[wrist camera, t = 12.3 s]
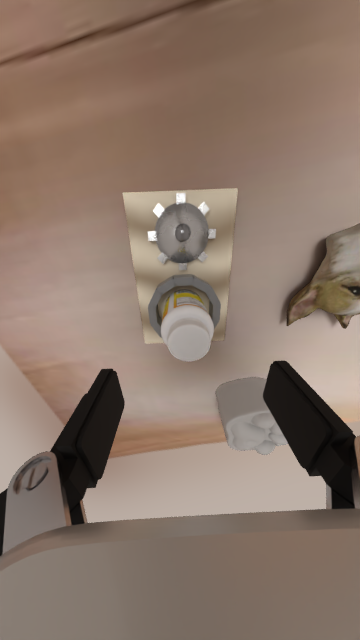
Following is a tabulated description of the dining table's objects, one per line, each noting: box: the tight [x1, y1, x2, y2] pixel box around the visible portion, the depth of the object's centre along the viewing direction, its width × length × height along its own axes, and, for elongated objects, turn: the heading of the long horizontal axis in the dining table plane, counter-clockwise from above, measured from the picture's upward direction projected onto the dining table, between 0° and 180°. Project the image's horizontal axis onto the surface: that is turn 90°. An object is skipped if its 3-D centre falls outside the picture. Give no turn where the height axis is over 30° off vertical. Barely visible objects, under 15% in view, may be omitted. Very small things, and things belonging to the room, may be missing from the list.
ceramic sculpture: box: [287, 223, 360, 329], centre depth 20 cm, size 11×9×15 cm
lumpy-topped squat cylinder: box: [216, 377, 288, 455], centre depth 30 cm, size 10×13×9 cm
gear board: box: [123, 188, 238, 344], centre depth 23 cm, size 20×13×2 cm, turn 2°
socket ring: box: [148, 274, 221, 338], centre depth 23 cm, size 10×10×2 cm
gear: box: [148, 193, 216, 270], centre depth 18 cm, size 8×8×4 cm
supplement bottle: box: [161, 289, 214, 362], centre depth 19 cm, size 6×6×10 cm
